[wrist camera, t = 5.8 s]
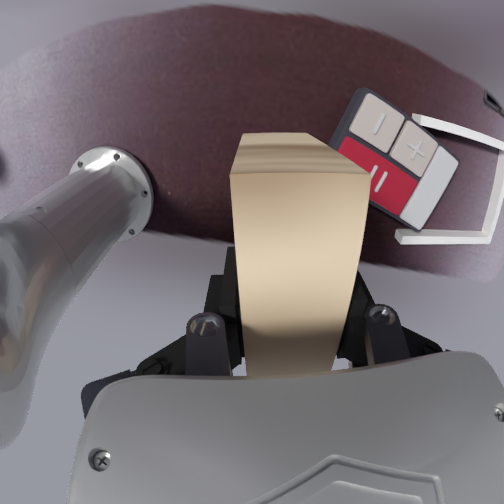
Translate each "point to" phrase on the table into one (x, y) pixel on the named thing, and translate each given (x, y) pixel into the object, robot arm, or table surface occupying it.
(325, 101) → the table surface
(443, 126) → the bay
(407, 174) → the calculator
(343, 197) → the block
